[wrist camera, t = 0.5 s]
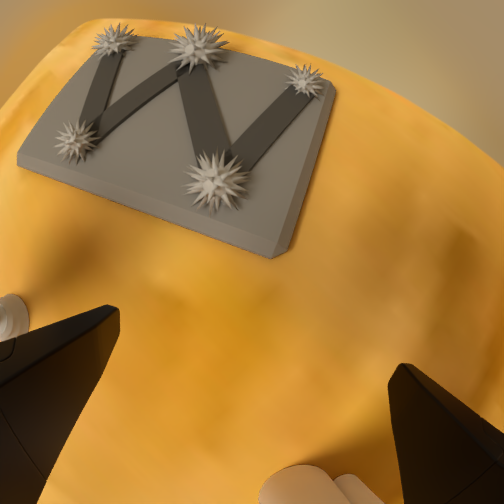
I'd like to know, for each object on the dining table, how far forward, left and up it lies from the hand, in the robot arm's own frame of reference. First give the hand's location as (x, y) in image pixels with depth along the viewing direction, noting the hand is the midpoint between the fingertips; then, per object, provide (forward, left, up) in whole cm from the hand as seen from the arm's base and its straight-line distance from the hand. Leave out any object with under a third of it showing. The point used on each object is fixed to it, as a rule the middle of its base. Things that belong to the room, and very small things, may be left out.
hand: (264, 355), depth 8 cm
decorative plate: (+22, +5, -15) cm, 27 cm away
